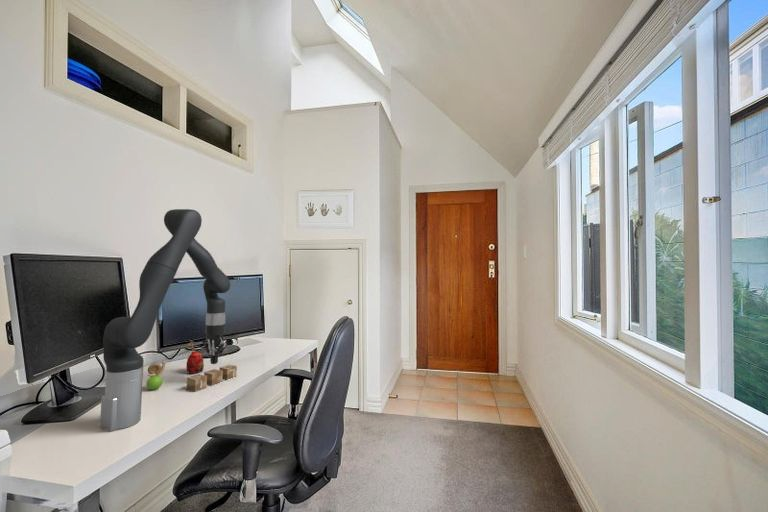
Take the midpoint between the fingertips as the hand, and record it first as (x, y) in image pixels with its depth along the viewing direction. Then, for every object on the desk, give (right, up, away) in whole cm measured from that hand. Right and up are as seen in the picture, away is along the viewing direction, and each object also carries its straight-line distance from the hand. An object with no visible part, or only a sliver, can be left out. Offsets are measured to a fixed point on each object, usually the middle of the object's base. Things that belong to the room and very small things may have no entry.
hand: (214, 363), depth 139 cm
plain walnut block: (0, -8, 0) cm, 8 cm away
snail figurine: (-19, -8, -8) cm, 22 cm away
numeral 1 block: (-3, -8, -7) cm, 11 cm away
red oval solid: (-16, -9, +13) cm, 22 cm away
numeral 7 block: (+3, -9, +6) cm, 11 cm away
